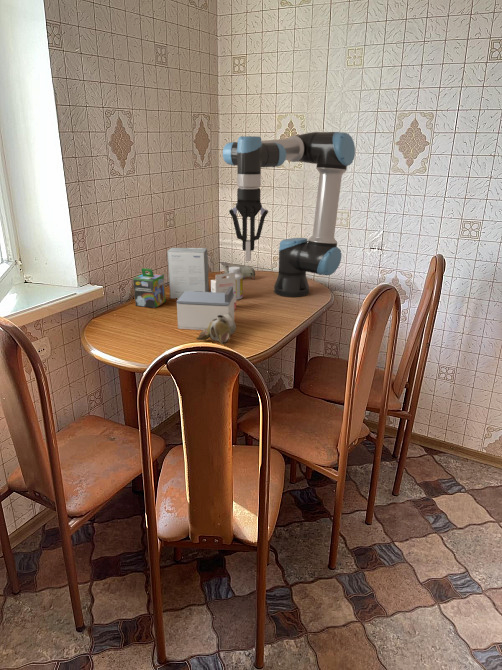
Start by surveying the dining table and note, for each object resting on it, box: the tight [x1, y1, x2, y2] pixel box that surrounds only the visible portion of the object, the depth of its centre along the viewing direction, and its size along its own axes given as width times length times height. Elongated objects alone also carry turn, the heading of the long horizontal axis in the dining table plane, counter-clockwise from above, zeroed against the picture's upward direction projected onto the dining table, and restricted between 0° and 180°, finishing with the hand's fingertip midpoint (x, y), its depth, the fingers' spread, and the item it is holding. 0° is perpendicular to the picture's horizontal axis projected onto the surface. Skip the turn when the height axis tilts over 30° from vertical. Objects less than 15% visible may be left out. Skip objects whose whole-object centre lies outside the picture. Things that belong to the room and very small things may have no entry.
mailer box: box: [176, 296, 235, 331], centre depth 180 cm, size 18×12×9 cm, turn 83°
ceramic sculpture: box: [196, 312, 237, 345], centre depth 167 cm, size 11×9×15 cm
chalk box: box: [132, 267, 167, 309], centre depth 200 cm, size 9×9×15 cm
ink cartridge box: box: [210, 273, 237, 310], centre depth 195 cm, size 9×5×15 cm, turn 117°
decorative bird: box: [219, 261, 256, 281], centre depth 239 cm, size 6×17×8 cm, turn 79°
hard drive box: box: [166, 247, 210, 300], centre depth 209 cm, size 16×8×20 cm, turn 84°
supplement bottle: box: [226, 267, 244, 301], centre depth 209 cm, size 7×7×13 cm
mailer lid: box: [176, 286, 234, 306], centre depth 178 cm, size 18×12×4 cm, turn 83°
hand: (248, 260), depth 171 cm, fingers closed
